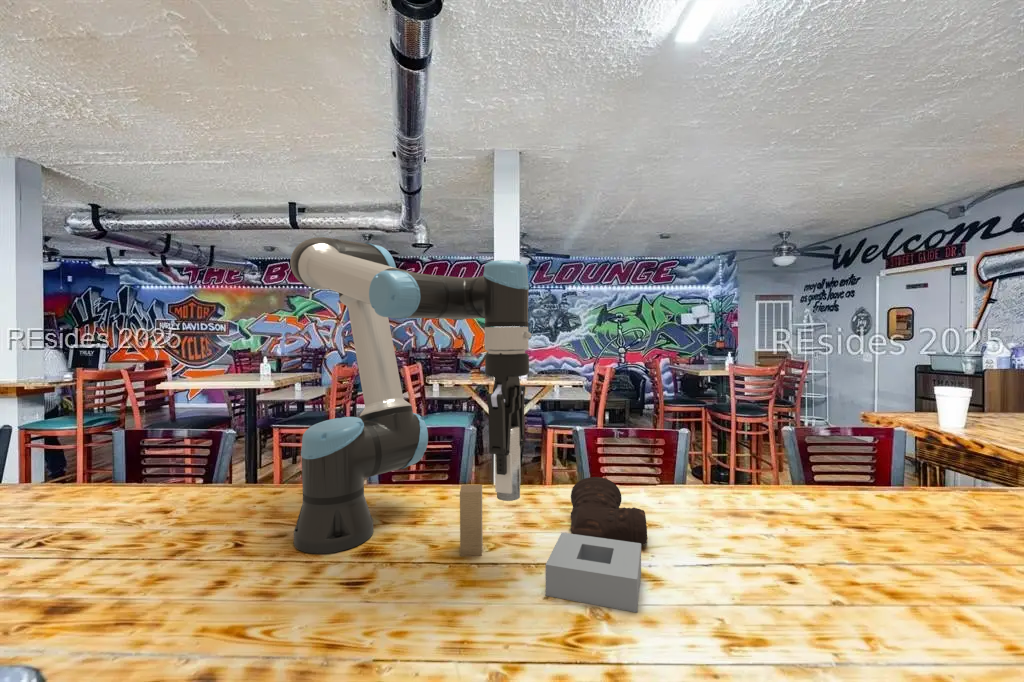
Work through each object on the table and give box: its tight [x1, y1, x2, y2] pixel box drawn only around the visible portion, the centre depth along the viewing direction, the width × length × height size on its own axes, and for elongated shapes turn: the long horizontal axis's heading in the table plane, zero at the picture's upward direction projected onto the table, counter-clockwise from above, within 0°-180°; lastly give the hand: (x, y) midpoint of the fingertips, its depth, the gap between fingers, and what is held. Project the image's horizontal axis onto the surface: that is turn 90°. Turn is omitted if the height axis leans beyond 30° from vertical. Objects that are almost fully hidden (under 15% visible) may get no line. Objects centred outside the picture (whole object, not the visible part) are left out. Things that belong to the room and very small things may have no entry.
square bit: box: [459, 484, 484, 557], centre depth 88 cm, size 4×4×12 cm
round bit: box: [496, 425, 521, 502], centre depth 80 cm, size 4×4×12 cm
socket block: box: [545, 532, 642, 613], centre depth 77 cm, size 14×12×5 cm
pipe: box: [569, 476, 648, 546], centre depth 96 cm, size 10×15×15 cm
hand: (508, 487), depth 80 cm, fingers closed on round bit, 4 cm apart
